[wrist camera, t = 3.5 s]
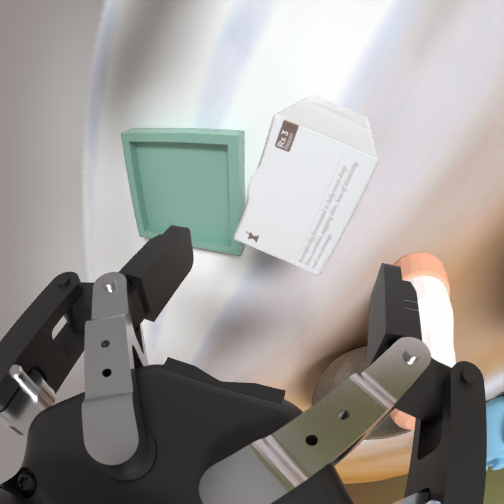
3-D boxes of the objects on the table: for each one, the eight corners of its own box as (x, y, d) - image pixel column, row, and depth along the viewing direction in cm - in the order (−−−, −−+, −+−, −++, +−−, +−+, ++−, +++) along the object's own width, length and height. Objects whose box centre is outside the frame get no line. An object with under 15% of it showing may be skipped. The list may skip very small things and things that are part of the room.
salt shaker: (441, 299, 33) (457, 443, 18) (387, 302, 36) (381, 448, 21) (448, 250, 30) (483, 406, 15) (387, 253, 32) (388, 414, 18)
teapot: (443, 418, 48) (442, 477, 37) (521, 375, 36) (531, 441, 25) (479, 434, 49) (480, 484, 39) (544, 399, 37) (552, 452, 27)
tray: (131, 128, 33) (121, 133, 31) (244, 130, 29) (237, 135, 28) (147, 228, 41) (139, 236, 39) (245, 246, 38) (239, 255, 36)
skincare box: (337, 188, 30) (320, 285, 19) (282, 164, 30) (228, 246, 19) (371, 113, 25) (387, 164, 13) (309, 87, 25) (269, 114, 14)
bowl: (427, 387, 44) (427, 439, 36) (330, 393, 51) (320, 442, 44) (433, 322, 36) (439, 385, 28) (309, 333, 43) (294, 392, 36)
